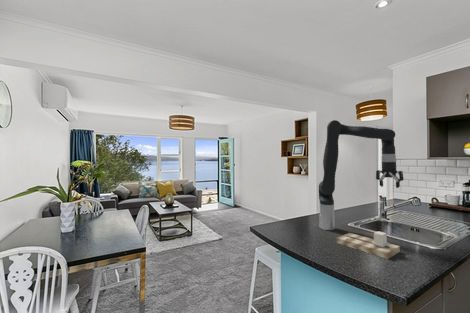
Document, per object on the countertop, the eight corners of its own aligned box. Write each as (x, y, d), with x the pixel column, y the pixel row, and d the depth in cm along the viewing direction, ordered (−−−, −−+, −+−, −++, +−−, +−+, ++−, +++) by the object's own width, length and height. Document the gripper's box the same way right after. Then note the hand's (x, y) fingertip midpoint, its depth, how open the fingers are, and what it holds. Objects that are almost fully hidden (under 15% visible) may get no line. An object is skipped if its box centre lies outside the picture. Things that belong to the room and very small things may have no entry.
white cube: (372, 244, 116) (372, 233, 116) (377, 241, 119) (377, 230, 119) (383, 247, 111) (382, 235, 111) (388, 244, 115) (388, 233, 115)
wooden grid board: (336, 242, 128) (336, 237, 128) (349, 237, 136) (349, 232, 136) (387, 259, 106) (387, 252, 106) (399, 251, 114) (399, 245, 114)
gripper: (373, 161, 143) (374, 186, 142) (399, 161, 131) (400, 188, 131) (379, 161, 147) (379, 185, 147) (404, 161, 135) (405, 187, 135)
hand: (389, 187), depth 139 cm, fingers open, 8 cm apart
